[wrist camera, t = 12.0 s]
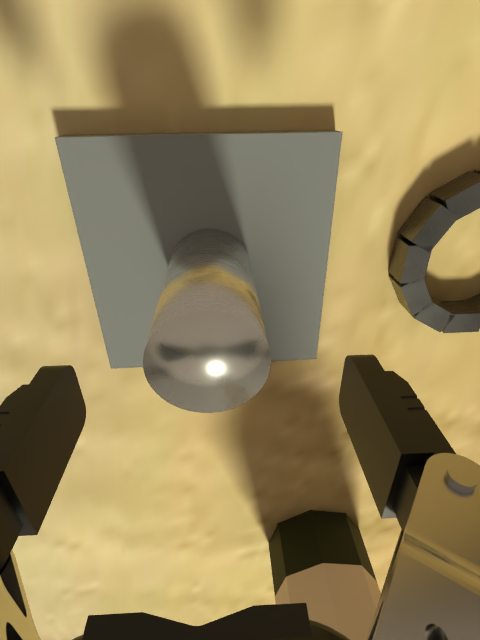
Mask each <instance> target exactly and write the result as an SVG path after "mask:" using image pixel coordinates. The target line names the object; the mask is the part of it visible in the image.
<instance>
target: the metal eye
mask: <svg viewBox="0 0 480 640" xmlns="http://www.w3.org/2000/svg"><path fill="white" fill-rule="evenodd" d="M429 195H430V198H431V200H430V199H428V198H424V199H423V200H422V202H421V203H420V204H419V206H418V207H417V208H416V209H415V211H414V212H413V213H412V215H411V216H410V217H409V219H408V220H407V221H406V222H405V224H404V225H403V226H402V228H401V229H400V230H399V231H398V232H399V233H400V234H401V235H403V236H397V237H396V239H395V243H394V248H393V253H392V258H391V262H390V267H389V273H390V274H391V275H389V278H390V280H391V282H392V285H393V287H394V290H395V292H396V294H397V297H398V299H399V302H400V303H401V304H402V306H403V307H404V308H405V309H406V310H407V311H408V312H409V313H410V314H411V315H412V316H413V317H414V318H415V319H417V320H418V321H420V322H422V323H424V324H426V325H428V326H429V327H431V328H433V329H435V330H437V331H439V332H441V331H442V332H443V333H456V332H478V331H479V328H480V294H479V295H476V296H474V297H472V298H470V299H468V300H466V301H444V302H439V301H437V300H435V299H433V298H432V297H430V295H429V292H428V289H427V286H426V284H425V281H424V277H425V273H426V270H427V266H428V262H429V258H430V255H431V251H432V249H433V247H434V246H435V245H436V244H437V243H438V241H439V240H440V239H441V238H442V237H443V235H444V234H445V233H446V232H447V231H448V229H449V228H450V227H451V226H452V225H453V223H454V222H455V221H456V220H458V219H460V218H462V217H463V216H465V215H467V214H469V213H471V212H473V211H475V210H477V209H479V208H480V170H474V172H470V171H469V172H467V173H465V174H463V175H462V176H460V177H458V178H456V179H455V180H453V181H451V182H449V183H447V184H446V185H444V186H442V187H440V188H438V189H437V190H435V191H433V192H431V193H429Z"/></svg>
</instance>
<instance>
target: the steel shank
mask: <svg viewBox="0 0 480 640" xmlns="http://www.w3.org/2000/svg"><path fill="white" fill-rule="evenodd" d="M270 367H271V356H270V351H269V346H268V342H267V337H266V333H265V328H264V324H263V319H262V314H261V310H260V305H259V301H258V296H257V292H256V287H255V282H254V278H253V273H252V269H251V264H250V260H249V256H248V253H247V251H246V249H245V247H244V246H243V244H242V243H241V242H240V241H239V240H238V239H237V238H236V237H234V236H233V235H231V234H230V233H228V232H225V231H222V230H219V229H209V228H208V229H200V230H197V231H194V232H192V233H190V234H188V235H186V236H185V237H184V238H182V239H181V240H180V241H179V243H178V244H177V245H176V247H175V248H174V250H173V253H172V256H171V259H170V263H169V266H168V270H167V273H166V277H165V280H164V284H163V287H162V291H161V294H160V298H159V301H158V305H157V308H156V312H155V315H154V319H153V322H152V326H151V329H150V333H149V336H148V340H147V343H146V347H145V350H144V355H143V369H144V373H145V376H146V378H147V381H148V383H149V384H150V386H151V387H152V389H153V390H154V391H155V392H156V393H157V394H158V395H159V396H160V397H161V398H163V399H164V400H165V401H167V402H168V403H170V404H172V405H174V406H176V407H179V408H181V409H185V410H188V411H193V412H201V413H213V412H221V411H226V410H229V409H232V408H235V407H237V406H240V405H242V404H244V403H245V402H247V401H248V400H250V399H251V398H253V397H254V396H255V395H256V394H257V393H258V392H259V391H260V390H261V388H262V387H263V385H264V384H265V382H266V380H267V378H268V376H269V372H270Z"/></svg>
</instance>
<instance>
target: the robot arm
mask: <svg viewBox="0 0 480 640" xmlns="http://www.w3.org/2000/svg"><path fill="white" fill-rule="evenodd" d="M339 406H340V412H341V415H342V418H343V421H344V423H345V426H346V428H347V431H348V434H349V436H350V439H351V441H352V444H353V446H354V449H355V452H356V454H357V457H358V459H359V462H360V464H361V467H362V470H363V472H364V475H365V477H366V480H367V482H368V485H369V488H370V490H371V493H372V495H373V498H374V500H375V503H376V506H377V508H378V511H379V513H380V516H381V518H397V519H398V522H399V524H400V526H401V529H402V530H401V532H400V535H399V538H398V542H397V545H396V548H395V551H394V554H393V558H392V561H391V564H390V567H389V570H388V574H387V577H386V580H385V583H384V586H383V590H382V593H381V596H380V599H379V602H378V605H377V608H376V611H375V614H374V617H373V620H372V623H371V626H370V629H369V632H368V635H367V638H366V640H480V465H478V464H477V463H475V462H473V461H472V460H470V459H468V458H466V457H463V456H460V455H457V454H456V453H455V452H454V450H453V449H452V447H451V446H450V444H449V443H448V441H447V440H446V438H445V437H444V435H443V434H442V432H441V431H440V429H439V428H438V426H437V425H436V423H435V422H434V421H433V419H432V418H431V416H430V415H429V413H428V412H427V410H425V409H424V406H423V404H422V403H421V401H420V400H419V399H417V395H416V394H415V392H414V391H413V389H412V388H411V386H410V385H409V383H408V382H407V381H405V380H404V379H403V378H401V377H400V376H399V375H397V374H396V373H395V372H394V371H384V369H383V368H382V366H381V365H380V363H379V361H378V360H377V358H376V357H375V356H374V355H350V356H347V357H346V359H345V363H344V369H343V375H342V381H341V388H340V394H339ZM85 418H86V407H85V402H84V399H83V396H82V393H81V389H80V386H79V383H78V379H77V376H76V373H75V370H74V368H73V367H72V366H70V365H65V366H43V367H41V368H40V369H39V371H38V372H37V374H36V375H35V377H34V378H33V379H32V381H31V382H30V384H29V385H22V386H21V387H19V388H18V389H17V390H16V391H14V392H13V393H12V394H10V395H9V396H8V397H6V399H5V400H4V401H3V403H2V404H1V405H0V640H41V639H40V637H39V635H38V632H37V630H36V627H35V625H34V621H33V618H32V615H31V611H30V608H29V604H28V601H27V597H26V593H25V590H24V586H23V583H22V579H21V576H20V572H19V569H18V565H17V562H16V558H15V555H14V553H13V551H12V548H13V546H14V544H15V542H16V540H17V538H18V536H25V535H37V534H38V532H39V529H40V527H41V525H42V522H43V520H44V518H45V515H46V513H47V511H48V508H49V506H50V504H51V501H52V499H53V497H54V494H55V492H56V490H57V487H58V485H59V483H60V480H61V478H62V476H63V473H64V471H65V469H66V466H67V464H68V462H69V459H70V457H71V455H72V452H73V450H74V448H75V445H76V443H77V441H78V438H79V436H80V434H81V431H82V429H83V427H84V423H85ZM73 640H350V639H348V638H347V637H346V636H345V635H343V634H341V633H339V632H338V631H336V630H334V629H333V628H331V627H328V626H326V625H324V624H321V623H319V622H315V621H312V620H309V616H308V610H307V604H306V603H292V604H275V605H259V606H252V607H249V608H246V609H244V610H241V611H239V612H236V613H233V614H231V615H228V616H226V617H223V618H220V619H218V620H215V621H213V622H210V623H207V624H205V625H202V626H191V625H187V624H184V623H180V622H176V621H173V620H169V619H165V618H162V617H158V616H154V615H150V614H147V613H143V612H141V613H124V614H107V615H90V616H88V619H87V623H86V626H85V630H84V634H83V635H81V636H79V637H76V638H75V639H73Z"/></svg>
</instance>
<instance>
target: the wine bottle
mask: <svg viewBox="0 0 480 640" xmlns="http://www.w3.org/2000/svg"><path fill="white" fill-rule="evenodd" d="M269 551H270V559H271V567H272V575H273V584H274V592H275V600H276V604H292V603H306V604H307V610H308V616H309V620H312V621H315V622H319V623H321V624H324V625H326V626H328V627H331V628H333V629H334V630H336V631H338V632H339V633H341V634H343V635H345V636H346V637H347V638H348V639H350V640H366V638H367V635H368V632H369V629H370V626H371V623H372V620H373V617H374V614H375V611H376V608H377V605H378V602H379V599H380V596H381V593H380V590H379V587H378V584H377V581H376V578H375V575H374V572H373V569H372V566H371V563H370V560H369V557H368V554H367V551H366V548H365V545H364V542H363V539H362V536H361V533H360V530H359V529H358V528H357V527H356V525H355V524H354V523H353V522H352V521H351V519H350V518H349V517H348V516H347V515H346V514H345V513H336V512H324V511H312V510H310V511H308V512H306V513H303V514H301V515H298V516H296V517H293V518H291V519H288V520H286V521H284V522H281V523H279V524H278V525H277V527H276V529H275V531H274V534H273V536H272V538H271V540H270V542H269Z"/></svg>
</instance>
